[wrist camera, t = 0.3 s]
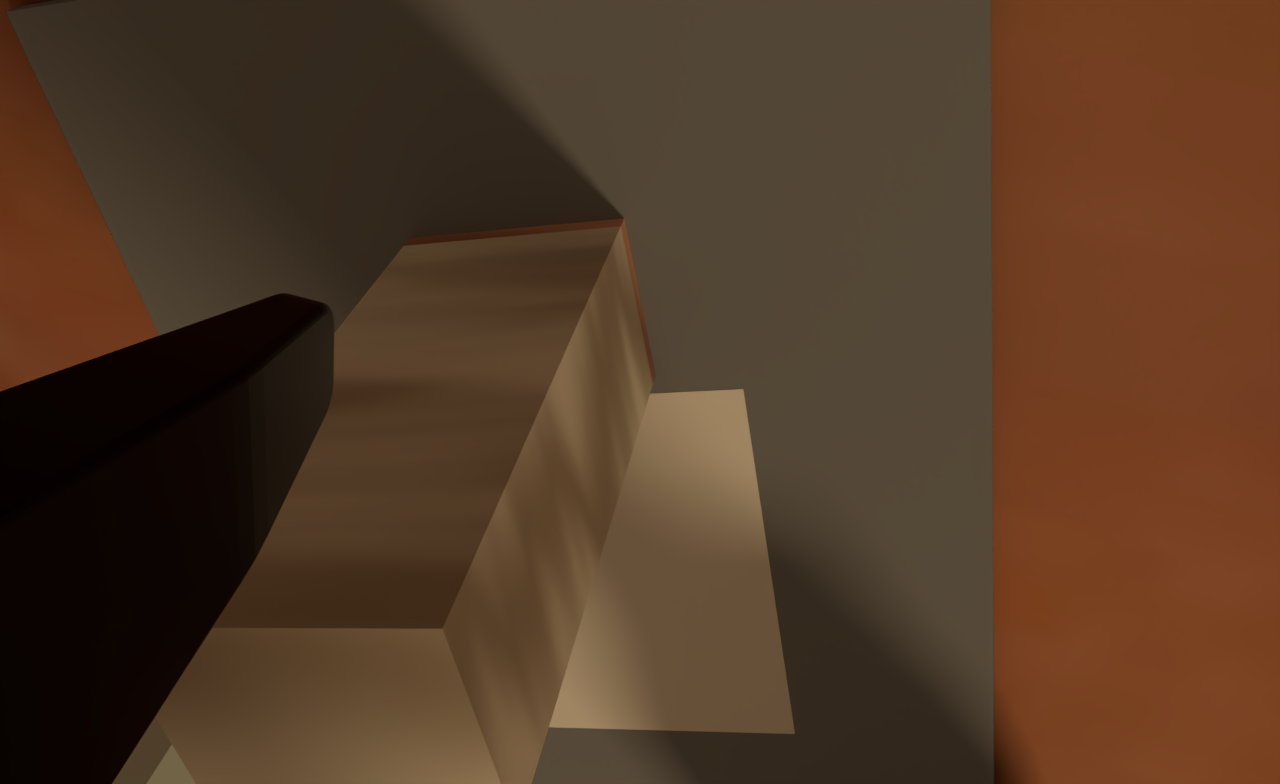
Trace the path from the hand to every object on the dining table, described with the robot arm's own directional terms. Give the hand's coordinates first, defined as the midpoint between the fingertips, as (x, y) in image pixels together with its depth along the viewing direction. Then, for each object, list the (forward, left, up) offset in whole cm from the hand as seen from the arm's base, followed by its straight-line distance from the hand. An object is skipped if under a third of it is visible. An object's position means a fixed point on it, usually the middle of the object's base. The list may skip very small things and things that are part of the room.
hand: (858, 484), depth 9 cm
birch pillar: (-6, +8, -14) cm, 17 cm away
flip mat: (-11, +8, -14) cm, 19 cm away
